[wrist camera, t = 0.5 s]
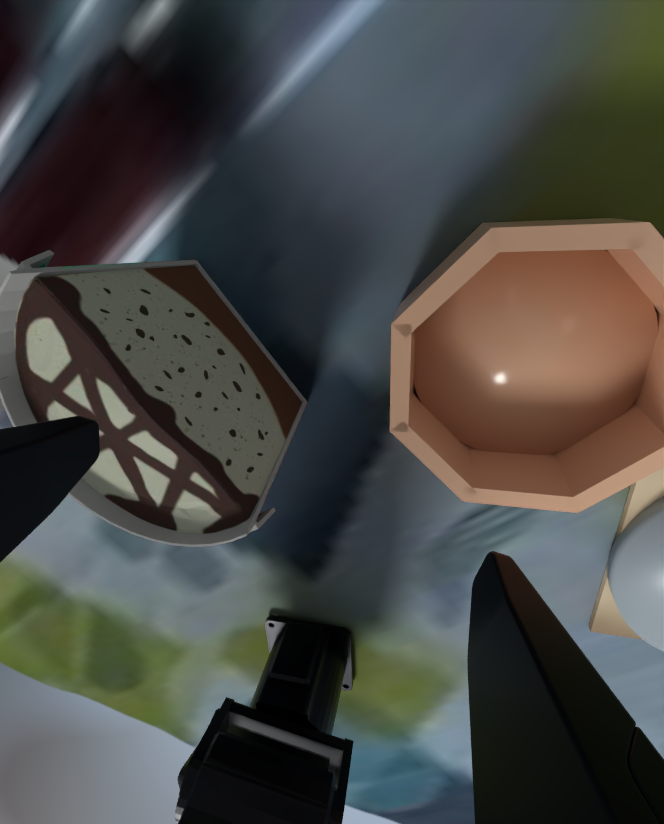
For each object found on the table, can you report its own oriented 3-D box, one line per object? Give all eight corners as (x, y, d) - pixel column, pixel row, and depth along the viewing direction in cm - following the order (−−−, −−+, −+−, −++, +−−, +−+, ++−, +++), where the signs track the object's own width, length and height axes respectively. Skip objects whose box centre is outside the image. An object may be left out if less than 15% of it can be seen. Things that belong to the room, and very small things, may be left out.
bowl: (631, 469, 22) (667, 522, 18) (396, 451, 24) (388, 494, 21) (707, 214, 17) (777, 217, 13) (401, 225, 19) (392, 231, 16)
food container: (109, 304, 24) (-80, 363, 16) (176, 234, 22) (-5, 256, 13) (248, 467, 27) (155, 594, 18) (323, 422, 24) (256, 546, 16)
